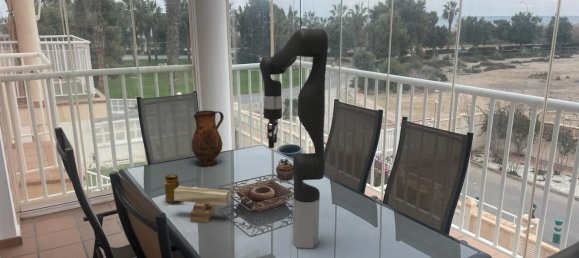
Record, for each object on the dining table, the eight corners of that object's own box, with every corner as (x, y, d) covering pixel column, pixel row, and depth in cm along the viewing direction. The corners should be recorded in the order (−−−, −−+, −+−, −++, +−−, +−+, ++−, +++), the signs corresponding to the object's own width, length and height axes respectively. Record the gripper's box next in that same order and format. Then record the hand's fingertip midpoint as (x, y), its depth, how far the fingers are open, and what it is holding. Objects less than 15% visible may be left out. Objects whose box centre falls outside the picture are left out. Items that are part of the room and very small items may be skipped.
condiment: (166, 198, 193) (165, 173, 190) (185, 198, 194) (184, 172, 191) (163, 205, 186) (161, 178, 183) (183, 204, 187) (182, 178, 184)
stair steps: (207, 222, 170) (207, 206, 168) (190, 221, 170) (189, 205, 169) (214, 212, 179) (214, 196, 178) (198, 211, 180) (197, 195, 178)
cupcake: (297, 180, 219) (297, 161, 217) (279, 182, 215) (279, 163, 213) (290, 174, 228) (290, 156, 225) (273, 176, 224) (273, 157, 222)
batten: (226, 205, 169) (226, 194, 168) (174, 200, 173) (173, 190, 172) (230, 201, 173) (229, 190, 172) (179, 196, 177) (178, 186, 176)
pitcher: (186, 164, 241) (183, 112, 234) (213, 156, 257) (212, 107, 250) (206, 170, 231) (204, 116, 224) (234, 161, 248) (233, 110, 241)
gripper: (279, 110, 166) (279, 150, 170) (284, 103, 180) (283, 141, 184) (260, 109, 167) (260, 149, 171) (266, 103, 181) (266, 140, 185)
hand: (272, 145), depth 177 cm, fingers open, 8 cm apart
